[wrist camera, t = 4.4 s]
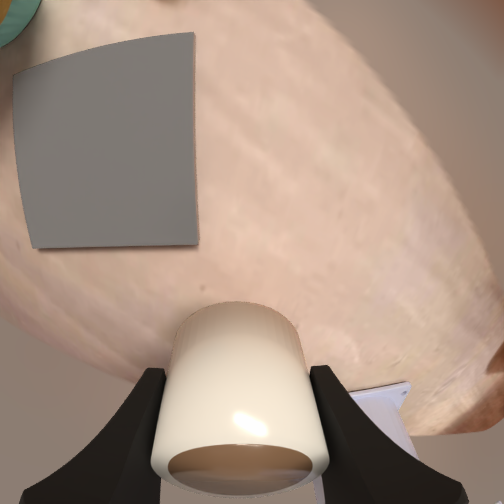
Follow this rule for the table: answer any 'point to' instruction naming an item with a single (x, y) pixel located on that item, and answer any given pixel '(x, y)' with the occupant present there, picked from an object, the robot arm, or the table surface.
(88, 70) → the coaster
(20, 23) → the cupcake
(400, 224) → the table surface
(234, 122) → the table surface
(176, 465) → the cup
